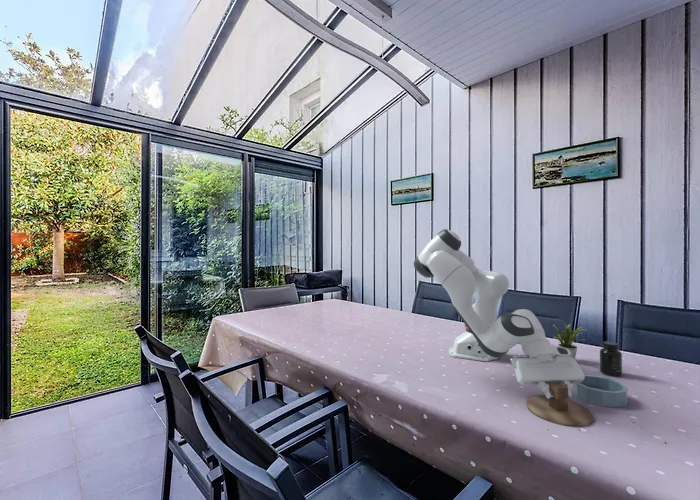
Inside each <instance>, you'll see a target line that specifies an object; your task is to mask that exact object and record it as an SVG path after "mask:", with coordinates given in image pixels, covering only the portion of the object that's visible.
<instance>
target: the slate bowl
mask: <svg viewBox="0 0 700 500" xmlns="http://www.w3.org/2000/svg"><path fill="white" fill-rule="evenodd" d="M584 375H585V378H584V380H583V381H582V382H581V383H579V384H572V393H573V394H574V395H575V396H576V398H578V399H580V400H582V401H584V402H586V403H590V404H593V405H597V406H601V407H608V408H622V407H626V406H627V404H628V403H629V401H628V398H629V397H628V394H629V393H628V391H629V390H628V387H627V386H626V385H624V384H623V383H622V382H619V381H617V380H614V379H612V378H609V377H604V376H598V375H592V374H591V375H590V374H584Z"/></svg>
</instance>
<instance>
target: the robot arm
mask: <svg viewBox="0 0 700 500" xmlns="http://www.w3.org/2000/svg"><path fill="white" fill-rule="evenodd" d="M461 247H462V240H461V239H460V237H459V236H458V234H457V233H456V232H454V231H452V230H450V229H448V228H447V229H441V230H440V231H439V232H438V233H437V234H436V235H435V236H434V237H433V238H432V239H431V240H429V242H428V243H427V244H426V245H425V247H424V248H423V249H422V250H421V252H420V253H419V254H418V256H416V257H415V259H414V260H413V267H414V269H415V270H416V272H417V273H418V274H419V275H420V276H422V277H424V278H431V279H432V278H433V277H434V278H435V279H436V280H437V281H438V283H439V284H441V286H442V287H443V288H444V289H445V291H446V292H447V294H448V296H449V298H450V299H451V300H450V302H451V305H452V307H453V309H454V312H456V314H457V315H458V316H459V318H460V319H461V320H462V322H463V323H464V327H465V331H464V332H463V333H461V334H460V335H458V336H456V338H455V339H454V341H453V346H450V347H449V349H448V354H449V356H451V357H452V358H458V359H465V360H473V361H482V362H490V361H493V360H499V359H500V358H503V357H504V356H506V354H507V353H508V352H509V351H510V349H512V348H514V347H515V346H517V345H520V346H521V350H522V352H523V354H521V355H517V354H516V355H513V356H512V357H511V358H510V362H511V365H512V367H513V368H514V374H515V378H516V380H517V382H518V384H520V385H521V386H534V385H535V386H537V387H538V389H539V390H540V391H541V392H543V393H544V395H546V397H547V399H553V398H554V394H553V392H552V391H549V388H548V387H546V386H547V385H549V383H559V382H560V383H561V384H563V385H565V386H567V387H568V399H571V398H572V393H571V391H570V390H571V389H570V388H571V385H573V384H579V383H581V382H582V381H583V380H584V378H585V375H586V374H585V373H584V371H583V370H582V368H581V366H580V364H579V363H578V361H577V360H576V358H575V359H574V358H572V357H570V356H571V352H570V350H569V349H566V348H562V347H558V345H554V344H551V342H550V340H549V339H548V338H547V337H546V332H545V330H544V328H543V326H542V323H541V322H540V321H539V319H538V317H537V316H536V315H535V314H534V313H533V312H532V311H531V310H529V309H525V308H521V309H520V308H519V309H516V310H514V311H513V312H511V313H509V312H506V313H503V314H502V315H500V316H499V317H498V318H497V308H498V304H499V302H500V300H501V298H502V297H503V296H504V295H505V294H506V293H507V292H508V290H509V289H510V288H509V287H510V283H509V278H508V276H506V275H504V274H503V273H501V272H498V271H493V270H483V269H480V268H478V267H476V266H475V265H476V264H475V261H474V259H473V258H472V257H470V256H469V255H467V254H466V253H464V252H463V251H462V250H461V249H460V248H461ZM474 294H477V298H476V300H475V302H474V303H473V296H474Z"/></svg>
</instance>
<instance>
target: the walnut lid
mask: <svg viewBox="0 0 700 500" xmlns="http://www.w3.org/2000/svg"><path fill="white" fill-rule="evenodd" d="M548 390H549V391H552V392H553V394H554V398H553V399H547V397H546V395H545V394H539V395H533V396H530V397H529V398H527V400H526V408H527V410H528V411H529V412H530V413H532V415H534V416H535V417H538V418H540V419H542V420H544V421H547V422H549V423H553V424H556V425H560V426H567V427H576V428H577V427H586V426H589V425H590V424H592V423H593V422H594V414H593V412H592V411H591V410H590V409H589V408H588V407H586V406H585V405H583V404H582V403H579V402H577V401H574V400H573V399H572V400H571V399H570V398H568V387H567V386H565V385H563V384H561V383H560V382H559V383H549V384H548Z"/></svg>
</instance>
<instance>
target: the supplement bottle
mask: <svg viewBox="0 0 700 500" xmlns="http://www.w3.org/2000/svg"><path fill="white" fill-rule="evenodd" d="M619 349H620V346H619V343H618V342H613V341H607V340H606V341H603V342H602V348H601V349H600V350H599V372H600V373H601V374H602V375H605V376H609V377H617V378H619V377H621V376H622V375H623V353H622V352H621V351H620V350H619Z"/></svg>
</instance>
